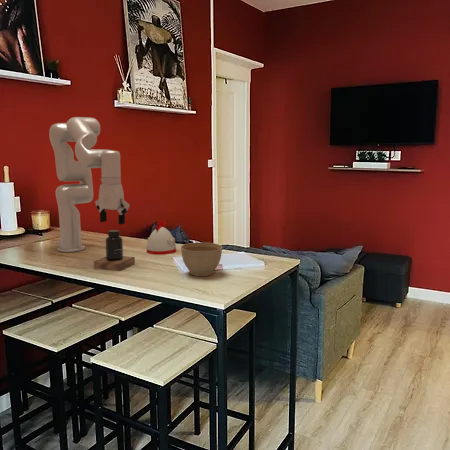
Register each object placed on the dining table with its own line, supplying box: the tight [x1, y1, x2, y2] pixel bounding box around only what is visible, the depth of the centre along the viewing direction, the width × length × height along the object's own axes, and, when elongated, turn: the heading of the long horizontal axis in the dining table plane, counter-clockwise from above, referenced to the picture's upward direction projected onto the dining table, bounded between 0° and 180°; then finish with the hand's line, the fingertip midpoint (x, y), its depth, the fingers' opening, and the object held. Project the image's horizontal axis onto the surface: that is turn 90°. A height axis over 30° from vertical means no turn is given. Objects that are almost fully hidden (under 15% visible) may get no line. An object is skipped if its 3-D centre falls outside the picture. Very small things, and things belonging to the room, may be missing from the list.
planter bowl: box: [180, 242, 223, 277], centre depth 181 cm, size 16×16×11 cm
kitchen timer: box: [146, 219, 177, 256], centre depth 220 cm, size 14×14×15 cm
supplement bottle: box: [105, 229, 124, 261], centre depth 192 cm, size 7×7×12 cm
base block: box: [93, 255, 136, 272], centre depth 193 cm, size 12×12×3 cm
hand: (112, 222), depth 191 cm, fingers open, 9 cm apart
